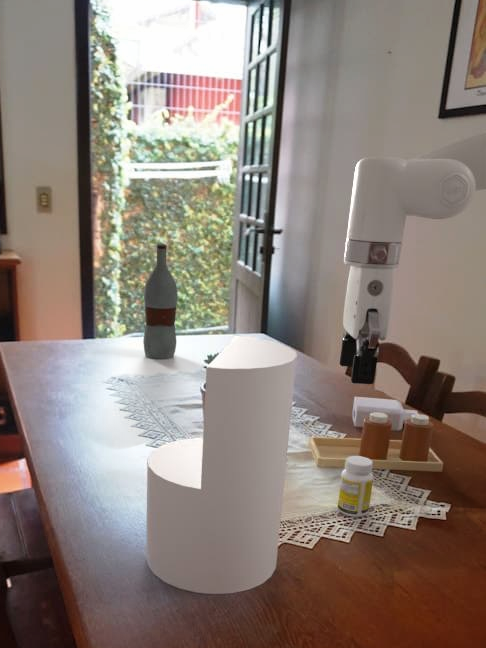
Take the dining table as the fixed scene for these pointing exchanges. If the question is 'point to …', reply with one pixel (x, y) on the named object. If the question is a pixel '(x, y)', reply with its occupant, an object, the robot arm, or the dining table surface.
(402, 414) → the charger
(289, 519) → the dining table surface
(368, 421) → the amber bottle
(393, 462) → the tray
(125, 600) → the dining table surface
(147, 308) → the grey green soda bottle
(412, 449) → the amber bottle
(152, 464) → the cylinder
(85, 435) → the dining table surface
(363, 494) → the supplement bottle
